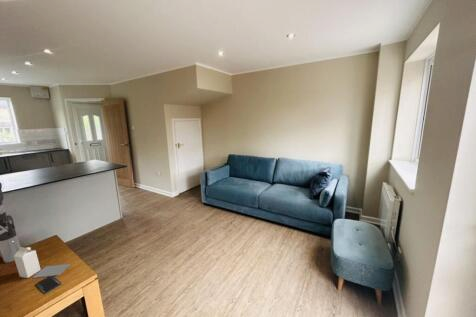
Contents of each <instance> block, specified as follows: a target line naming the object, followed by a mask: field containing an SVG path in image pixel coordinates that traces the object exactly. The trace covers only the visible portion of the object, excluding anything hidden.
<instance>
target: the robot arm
mask: <svg viewBox="0 0 476 317" xmlns="http://www.w3.org/2000/svg"><path fill="white" fill-rule="evenodd" d="M2 186H3V184H2V183H1V182H0V231H3V230H4V232H2V233H0V253H1V257H2V260H3V262H5V263H12V262H15V259H14V255H15V254H16V253H17V251H18V250H19V247H21V245H20V242H19V238H18V235H17V230H16V226H15V223H14V218H13V217H12V215H9V214H8V215H7V212H6V210H5V209H6V208H5V207H4V205H3V201H4V194H3V190H2Z"/></svg>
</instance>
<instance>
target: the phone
mask: <svg viewBox="0 0 476 317" xmlns="http://www.w3.org/2000/svg"><path fill="white" fill-rule="evenodd" d="M61 285H62V282H61V281H60V280H59V279H57V278H56V276H52V275H51V276H49V277H44V278H43V279H41V280H40V281H38V282H36V283H35V287H37V288H38V289H39V290H40V291H41V292H42V293H43V294H45V295H46V294H48V293H50V292H51V291H53V290H55V289H57V288H58V287H60V286H61Z"/></svg>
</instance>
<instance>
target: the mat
mask: <svg viewBox="0 0 476 317" xmlns="http://www.w3.org/2000/svg"><path fill="white" fill-rule="evenodd" d="M71 265H72V264H71V263H67V264H58V265H57V264H56V265H46V266H45V267H43V268H42V269H41V270H40V271H38V272H37V273H35V274H34V276H31V277H32V278H31V279H39V278H47V277H49V276H51V275H52V276H53V277H58V276H60V275H62V274H63V273H64V272H65V270H67V269H68V268H69V267H70V266H71Z"/></svg>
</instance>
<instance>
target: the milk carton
mask: <svg viewBox="0 0 476 317" xmlns="http://www.w3.org/2000/svg"><path fill="white" fill-rule="evenodd" d="M31 248H32V247H30V246H29V247H22V246H20V247H19V250H18V251H17V253H16V254H15V255H14V259H15V261H14V262H15V265H16V269H17V271H18V275H19V277H20V278H25V279H29V278H31V277H33V275H36V274H37V273H39V272H40V271H41V270H42V269H41V266H40V262H39V258H38V255H37V251H36V249H31Z"/></svg>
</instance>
